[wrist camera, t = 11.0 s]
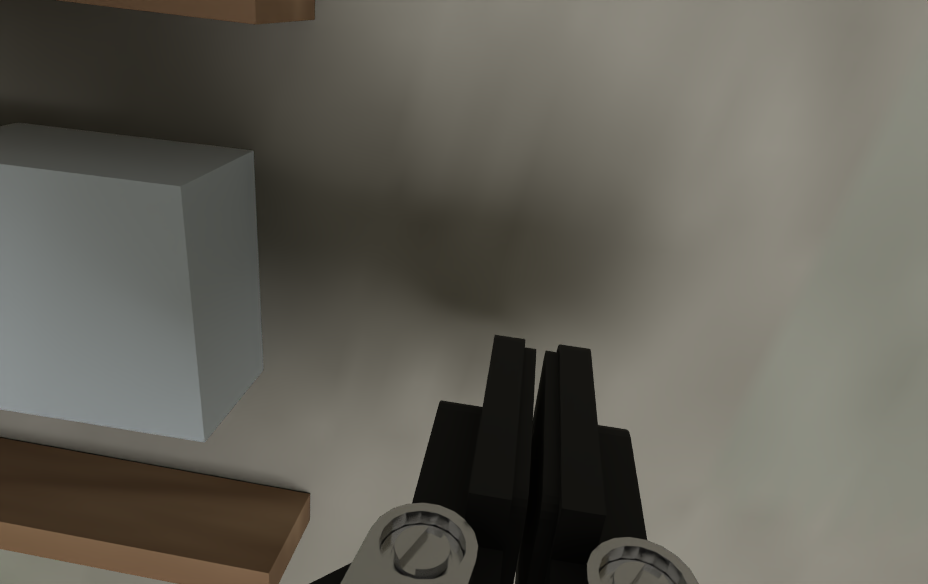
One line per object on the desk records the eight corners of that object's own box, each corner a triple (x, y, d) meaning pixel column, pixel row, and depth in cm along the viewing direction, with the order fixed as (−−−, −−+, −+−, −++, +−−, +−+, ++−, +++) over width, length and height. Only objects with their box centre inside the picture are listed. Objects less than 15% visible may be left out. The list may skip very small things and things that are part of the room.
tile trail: (23, 120, 16) (-105, 150, 13) (257, 148, 16) (180, 186, 13) (64, 335, 19) (-37, 403, 16) (267, 365, 18) (204, 442, 15)
